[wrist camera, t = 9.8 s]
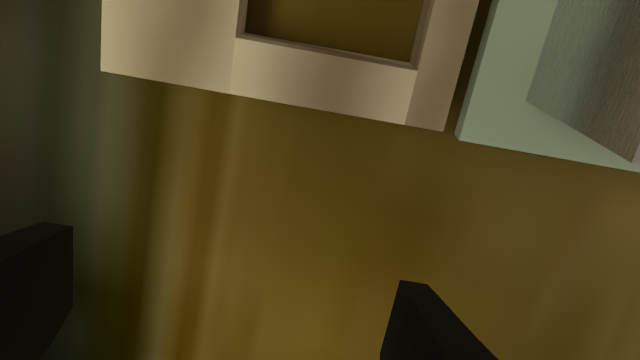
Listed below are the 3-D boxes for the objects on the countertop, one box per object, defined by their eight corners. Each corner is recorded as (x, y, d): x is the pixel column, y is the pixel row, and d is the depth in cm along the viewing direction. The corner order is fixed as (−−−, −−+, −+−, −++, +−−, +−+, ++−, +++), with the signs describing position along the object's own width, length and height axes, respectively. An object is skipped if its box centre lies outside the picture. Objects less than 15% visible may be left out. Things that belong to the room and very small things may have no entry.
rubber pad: (454, 134, 20) (458, 140, 19) (527, -125, 17) (536, -130, 16) (671, 173, 20) (684, 180, 20) (783, -72, 17) (804, -75, 17)
